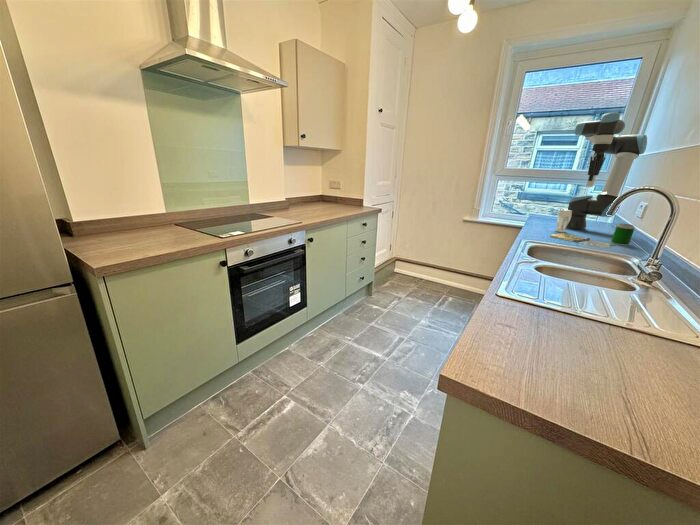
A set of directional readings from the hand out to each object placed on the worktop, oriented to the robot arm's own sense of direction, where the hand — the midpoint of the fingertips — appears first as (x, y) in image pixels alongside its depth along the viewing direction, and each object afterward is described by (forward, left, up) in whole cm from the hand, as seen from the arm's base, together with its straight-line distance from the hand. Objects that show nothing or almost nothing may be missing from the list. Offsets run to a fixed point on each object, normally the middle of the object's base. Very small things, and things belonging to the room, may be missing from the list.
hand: (589, 186), depth 167 cm
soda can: (-1, +22, -31) cm, 38 cm away
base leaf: (+14, +16, -30) cm, 37 cm away
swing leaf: (+14, +4, -30) cm, 33 cm away
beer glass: (-4, -10, -31) cm, 32 cm away
